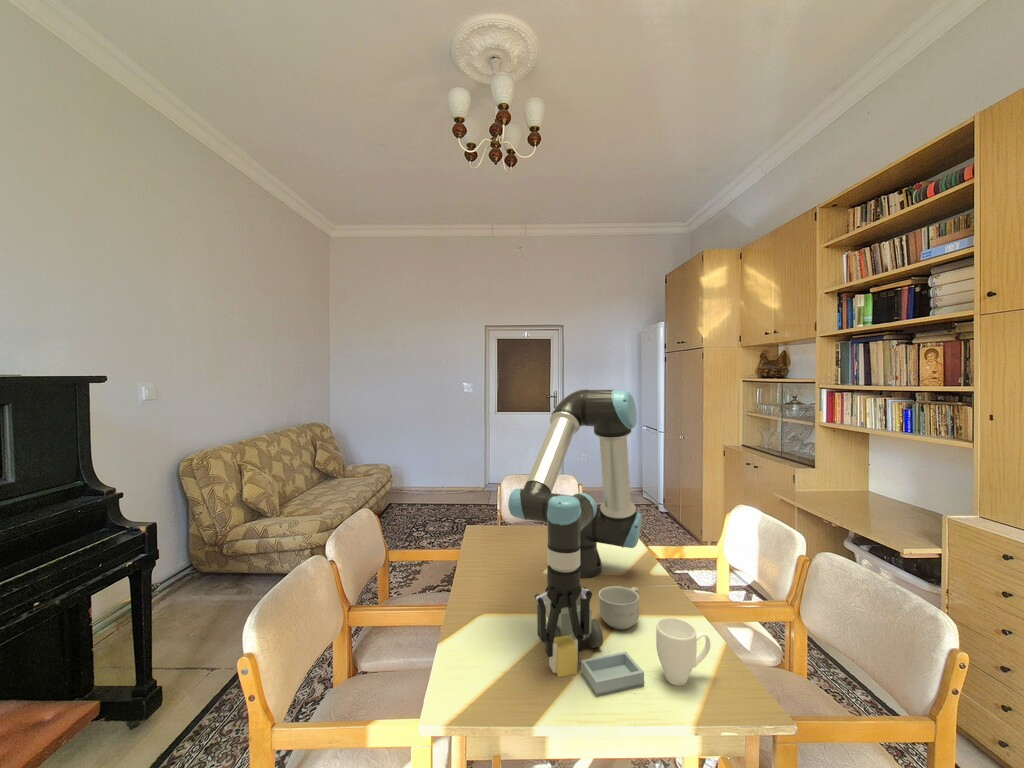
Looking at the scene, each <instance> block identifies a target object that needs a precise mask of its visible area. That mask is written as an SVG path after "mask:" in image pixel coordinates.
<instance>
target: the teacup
mask: <svg viewBox="0 0 1024 768" xmlns="http://www.w3.org/2000/svg"><path fill="white" fill-rule="evenodd" d="M598 605H599V614H600V616H601V618H602V621H604V622H605V623H606V624H607V625H608V626H609V627H611V628H613V629H615V630H627V629H629V628H631V627H633V626H634V625H635V624H637V622H638V621H639V617H640V590H639V588H638V587H635V586H633V587H631V588H629V587H625V586H619V585H617V586H614V585H613V586H607V587H603V588H602V589H601V588H600V590H599V591H598Z"/></svg>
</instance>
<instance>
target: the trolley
mask: <svg viewBox="0 0 1024 768" xmlns="http://www.w3.org/2000/svg"><path fill="white" fill-rule="evenodd" d="M580 598H581V596H580V595H579V597H578V598H577V600H576V606H577V614H578V619H579V624H580ZM550 604H551V601H550V599H549V598H547V604H546V619H548V618H549V614H550V609H551V608H550ZM592 610H593V609H592V608H591V607H590V612H589V634H588V635H583V639H584V638H585V640H586V641H585V642H586V643H587V645H588V646H589V648H591V649H595V648H598V647H602V645H603V641H604V635H603V630H602V626H601V624H600V622H599V621H598V620H597V619H595V618H594V619H593V617H592ZM570 634H574V633H573V629H572V625H571V620H570V615H569V611H568V607H565V608H562V609H561V613H560V614H559V618H558V623H557V627H556V632H555V637H561V636H566V635H569V637H570ZM555 637H554V638H555Z"/></svg>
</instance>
